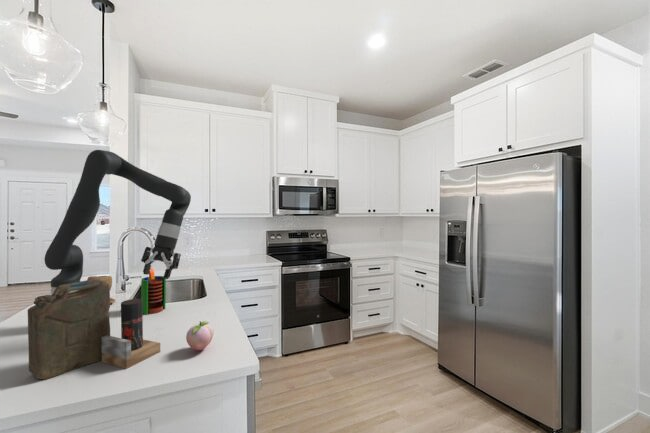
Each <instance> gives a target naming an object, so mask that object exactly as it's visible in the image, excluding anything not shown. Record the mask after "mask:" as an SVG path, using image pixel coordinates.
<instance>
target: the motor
mask: <svg viewBox="0 0 650 433" xmlns="http://www.w3.org/2000/svg"><path fill="white" fill-rule="evenodd" d="M163 277H164V275H155V272H154V269H153V268H152V267H151V268H150V271H149V274H148V276H146V277H143V278H141V287H140V288H141V290H140V293H141V294H140V299H141V300H142V311H143V315H145V316H146V315H152V314H159V313H161V312H163V311H164V310H166V296H167V294H166V289H167V288H166V285H167V284H166V281H167V279H163Z"/></svg>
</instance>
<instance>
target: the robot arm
mask: <svg viewBox="0 0 650 433" xmlns="http://www.w3.org/2000/svg"><path fill="white" fill-rule="evenodd" d="M81 172H82V173H81V175H80V179H79V182H78V184H77V187H76V189H75V193H74V194H73V197H72V198H71V200H70V202H69V205H68V208H67V210H66V212H65V215H64V218H63V219H62V222H61V224H60V226H59V228H58V231H57V233H56V234H55V236H54V238H53V240H52V241H51V243H50V245H49V246H48V248H47V250H46V252H45V255H44V265H45V267H47V269H49V270H51V271H52V270H53V271H57V270H60V272H59V273H58V274H57V275H56V276H54V277H53V278H51V280H50V295H52V294H53V293H54V291H55V289H56V288H57V287H58V286H60V285H64V284H70V283H75V282H81V279H82V277H83V272H84V269H83V267H84V253H83V250H82V248H80V246H78V245H76V244H74V243H75V241H76V239H78V237H79V236H80V235H82V233H83V232H85V231H86V230H87V229H88V228H89V227H90V226H91V225H92V223H93V222H94V221H95V219H96V217H97V214H98V212H99V209H100V206H101V205H100V204H101V200H100V187H101V184H102V182H103V179H104V178H105V176H106V175H114V176H118V177H121V178H123V179H126V180H129V181H130V182H132V184H135V185H136V186H137V187H138V188H141V189H142V190H144V191H146V192H148V193H150V194H153V195H155V196H157V197H162V198H164V199H166V200H168V201H169V202H171V204H170V205H169V209H168V208H167V209H166V210H165V211H164V214H163V217H162V220H161V224H160V226H159V228H158V232H157V234H156V237H155V241H154V243H153V244H154V247H150V246H146V247H145V248H144V251H143V254H142V256H141V259H140V261H141V262H142V263H144V267H143V270H142V272H143V273H142V274H143V275H148V276H149V271H150V268H152V264H153V263H154V262H156V261H159V262H163V264H165V267H166V269H165V272H164V274H163V276H164V277H163V279H166V280H169V278H170V277H171V275H172V271H173V270H177V269H178V268H179V265H180V259H181V256H182V254H181V253H179V252H175V249H176V245H177V243H178V240H179V236H180V232H181V226H182V224H183V219H184V216H185V214H186V213H187V210H188V208H189V206H190V204H191V201H192V200H191V198H192V195H191V193H190V192H189V191H188V189H187V190H186V188H185V187H182V186H181V185H179V184H176V183H173V182H171V181H167V180H166V179H164V178H162V177H160V176H158V175H155V174H153V173H150V172H148V171H146V170H144V169H142V168H139V167H137V166H136V165H134V164H132V163H130V162H129V161H127V160H126V159H124V158H123V157H121V156H120V155H119V154H116V153H115V152H112V151H110V150H109V151H108V150H102V149H95V150H93V151H91V152H90V153H89V154H88V155H87V157H86V159H85V162H84V166H83V170H82V171H81ZM151 254H152V255H151ZM75 291H78V290H75ZM75 291H70V292H69V293H71V292H75Z"/></svg>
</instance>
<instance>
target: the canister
mask: <svg viewBox="0 0 650 433" xmlns="http://www.w3.org/2000/svg"><path fill="white" fill-rule="evenodd" d="M75 290H78V291H75ZM70 291H75V292H71V293H69V292H70ZM110 298H111V290H110V288H109V284H108V283H107V282H105V281H101V280H98V279H92V280H87V279H85V280H80V282H75V283H70V284H64V285H60V286H58V287H57V288H56V289H55V291H54V293H53V294H52V295H51V294H46V295H41V296H37V297H35V298H34V300H33V304H34V305H32V306H30V307H29V308H28V309H27V329H28V330H27V338H28V339H27V341H28V371H29V372H30V373H31V374H32V375H33V376H34V377H36V378H37V379H38V380H48V379H51V378H54V377H56V376H59V375H61V374H64V373H67V372H69V371H72V370H75V369H78V368H81V367H84V366H87V365H90V364H93V363H96V362H98V361H102V337H103V336H106V335H108V336H111V322H110V310H111V309H110V307H111V303H110Z"/></svg>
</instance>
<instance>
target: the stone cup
mask: <svg viewBox="0 0 650 433" xmlns="http://www.w3.org/2000/svg"><path fill="white" fill-rule="evenodd" d="M92 279H98V280H101V281H105V282H107V283H108V284H109V288H110V291H111V290H112V286H113V278H112V276H111V275H95V276H93V275H92V276H91V275H90V276H88V277H87V279H86V280H92ZM115 302H116V299H114V298H112V297H110V304H114V303H115Z"/></svg>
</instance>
